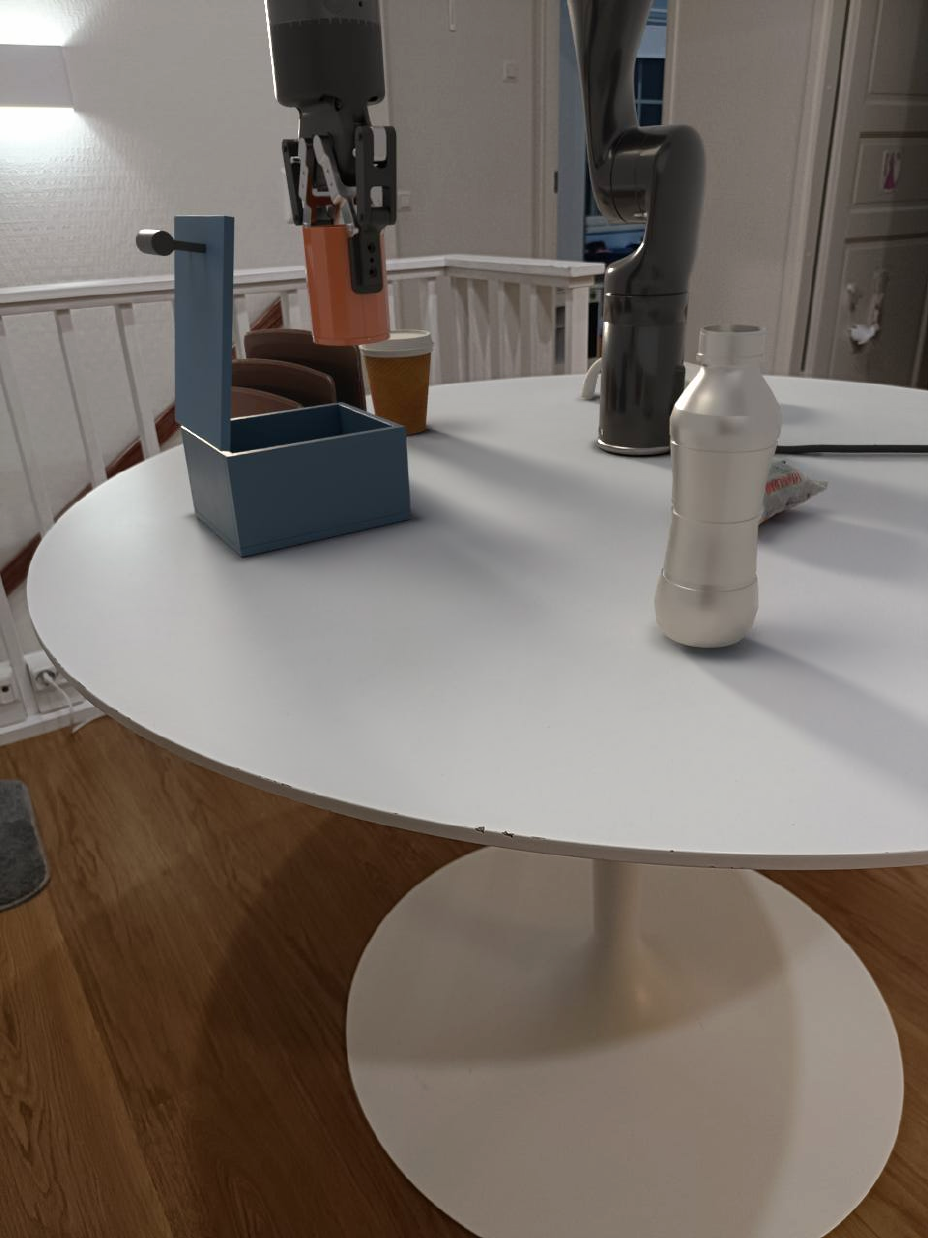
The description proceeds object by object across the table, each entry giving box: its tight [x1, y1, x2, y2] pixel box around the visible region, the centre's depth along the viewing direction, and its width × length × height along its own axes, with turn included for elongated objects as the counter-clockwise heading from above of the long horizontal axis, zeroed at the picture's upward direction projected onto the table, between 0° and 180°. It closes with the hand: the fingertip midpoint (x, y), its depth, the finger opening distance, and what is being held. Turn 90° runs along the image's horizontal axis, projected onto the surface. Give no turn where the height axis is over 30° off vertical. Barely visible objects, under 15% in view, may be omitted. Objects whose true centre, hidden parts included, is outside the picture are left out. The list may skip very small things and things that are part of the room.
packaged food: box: [759, 458, 829, 525], centre depth 80 cm, size 9×12×5 cm
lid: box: [135, 215, 235, 451], centre depth 72 cm, size 18×14×5 cm
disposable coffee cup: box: [358, 329, 436, 436], centre depth 113 cm, size 10×10×12 cm
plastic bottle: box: [653, 323, 783, 649], centre depth 55 cm, size 6×7×20 cm
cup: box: [300, 223, 391, 346], centre depth 66 cm, size 6×6×8 cm
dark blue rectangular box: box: [179, 402, 412, 558], centre depth 82 cm, size 17×14×9 cm
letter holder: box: [231, 328, 368, 419], centre depth 102 cm, size 10×20×14 cm, turn 52°
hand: (347, 289), depth 66 cm, fingers closed on cup, 6 cm apart
